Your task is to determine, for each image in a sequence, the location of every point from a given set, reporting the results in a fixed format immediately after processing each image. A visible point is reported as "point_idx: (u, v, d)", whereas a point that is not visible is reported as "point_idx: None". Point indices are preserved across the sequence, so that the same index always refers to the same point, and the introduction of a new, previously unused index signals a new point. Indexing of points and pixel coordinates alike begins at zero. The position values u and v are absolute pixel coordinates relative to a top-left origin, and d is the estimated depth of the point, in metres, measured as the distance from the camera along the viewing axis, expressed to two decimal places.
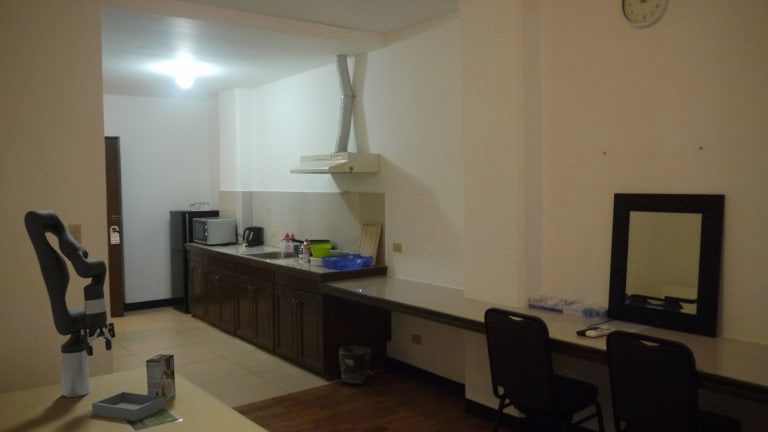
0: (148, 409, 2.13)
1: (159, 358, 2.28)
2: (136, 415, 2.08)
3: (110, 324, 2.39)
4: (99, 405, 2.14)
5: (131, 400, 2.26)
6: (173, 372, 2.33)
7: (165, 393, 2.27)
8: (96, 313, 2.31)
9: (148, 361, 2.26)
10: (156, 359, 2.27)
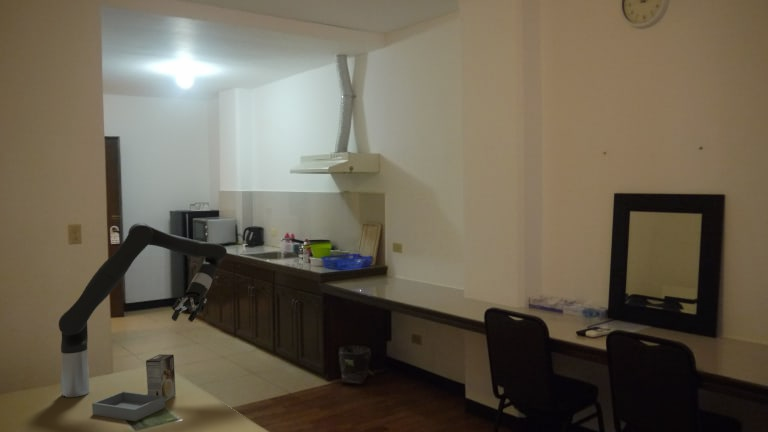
0: (148, 409, 2.13)
1: (159, 358, 2.28)
2: (136, 415, 2.08)
3: None
4: (99, 405, 2.14)
5: (131, 400, 2.26)
6: (173, 372, 2.33)
7: (165, 393, 2.27)
8: None
9: (148, 361, 2.26)
10: (156, 359, 2.27)
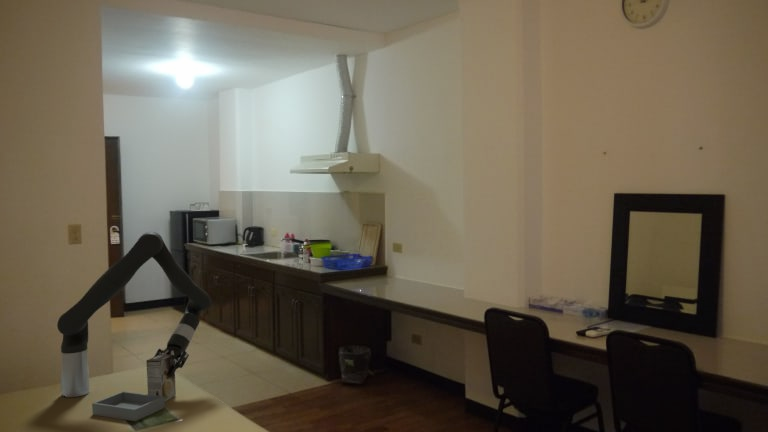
0: (148, 409, 2.13)
1: (159, 358, 2.28)
2: (136, 415, 2.08)
3: None
4: (99, 405, 2.14)
5: (131, 400, 2.26)
6: None
7: (165, 393, 2.27)
8: (188, 343, 2.41)
9: (148, 361, 2.26)
10: (156, 359, 2.27)
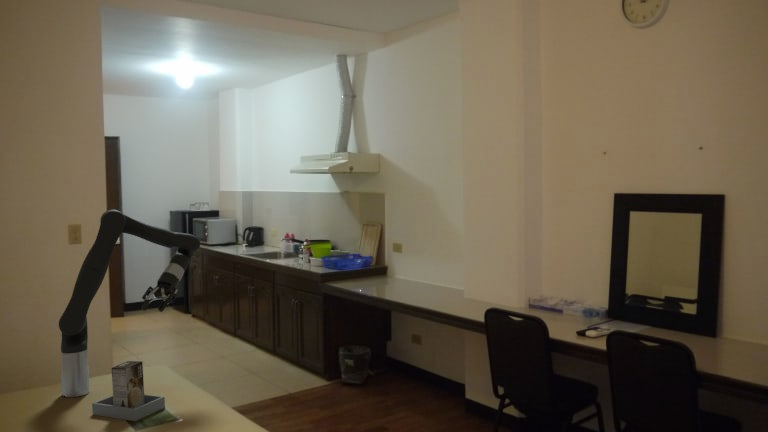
0: (148, 409, 2.13)
1: (126, 365, 2.16)
2: (136, 415, 2.08)
3: (153, 290, 2.46)
4: (99, 405, 2.14)
5: None
6: (142, 380, 2.21)
7: (131, 402, 2.15)
8: (178, 282, 2.47)
9: (113, 368, 2.14)
10: (122, 366, 2.15)
